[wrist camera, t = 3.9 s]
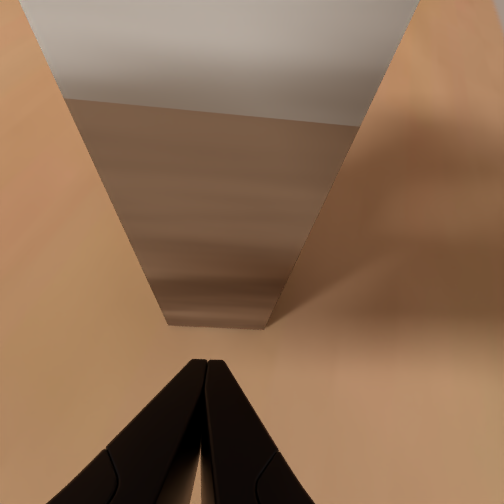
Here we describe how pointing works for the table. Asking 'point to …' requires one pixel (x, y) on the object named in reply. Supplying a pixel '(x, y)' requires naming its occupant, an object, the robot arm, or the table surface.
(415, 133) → the table surface
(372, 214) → the table surface
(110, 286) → the table surface
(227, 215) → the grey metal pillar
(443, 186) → the table surface
